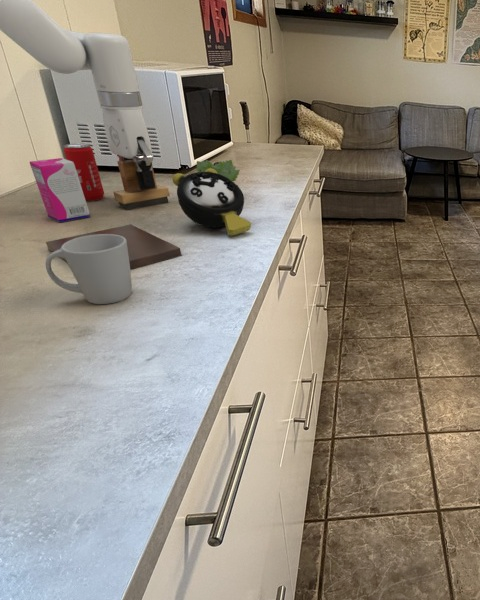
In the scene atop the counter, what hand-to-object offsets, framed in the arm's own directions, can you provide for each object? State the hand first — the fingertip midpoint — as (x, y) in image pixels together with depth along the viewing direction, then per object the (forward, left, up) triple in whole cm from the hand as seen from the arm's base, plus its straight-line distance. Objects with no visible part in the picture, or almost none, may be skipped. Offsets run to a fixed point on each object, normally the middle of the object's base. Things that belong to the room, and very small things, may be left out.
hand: (140, 185), depth 107 cm
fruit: (+15, -6, -5) cm, 17 cm away
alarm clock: (+3, -24, -5) cm, 25 cm away
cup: (-26, -41, -5) cm, 49 cm away
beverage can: (-6, +12, -5) cm, 14 cm away
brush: (0, 0, -5) cm, 5 cm away
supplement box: (-15, +1, -5) cm, 15 cm away
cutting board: (-17, -25, -5) cm, 31 cm away
